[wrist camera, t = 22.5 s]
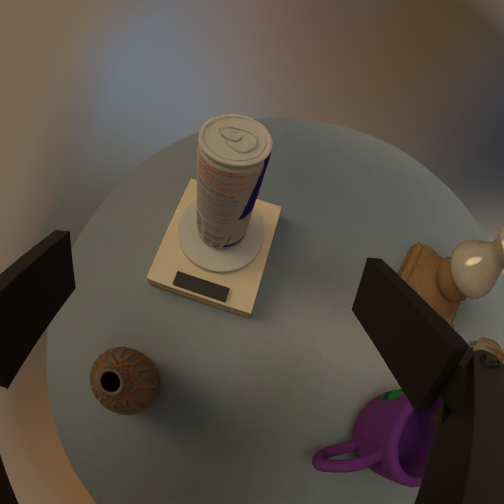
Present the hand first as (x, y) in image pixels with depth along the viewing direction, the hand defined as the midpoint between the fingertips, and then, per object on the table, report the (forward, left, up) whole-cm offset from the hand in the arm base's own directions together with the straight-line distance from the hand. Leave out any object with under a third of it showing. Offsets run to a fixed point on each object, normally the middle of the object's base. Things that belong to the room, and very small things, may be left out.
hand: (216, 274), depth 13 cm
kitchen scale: (-2, +11, -22) cm, 25 cm away
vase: (-6, -8, -23) cm, 25 cm away
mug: (+22, -7, -23) cm, 32 cm away
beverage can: (-2, +12, -20) cm, 23 cm away
